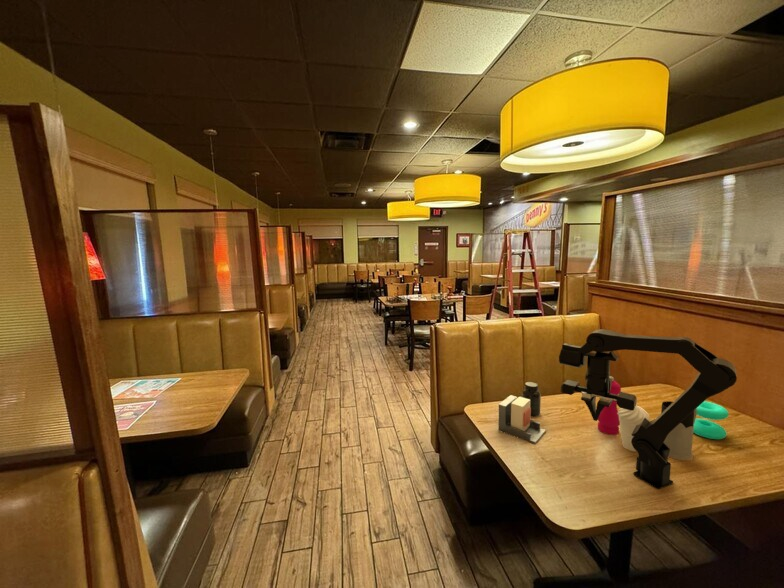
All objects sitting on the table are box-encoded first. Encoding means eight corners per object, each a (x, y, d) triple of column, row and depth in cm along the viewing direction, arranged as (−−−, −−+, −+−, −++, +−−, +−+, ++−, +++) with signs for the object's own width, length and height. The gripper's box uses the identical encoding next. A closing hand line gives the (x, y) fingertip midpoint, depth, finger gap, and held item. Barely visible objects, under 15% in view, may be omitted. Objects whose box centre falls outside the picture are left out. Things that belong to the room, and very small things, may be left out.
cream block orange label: (531, 426, 114) (532, 400, 113) (523, 434, 109) (524, 407, 108) (518, 422, 117) (519, 396, 116) (510, 429, 112) (511, 403, 111)
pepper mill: (624, 436, 108) (628, 381, 106) (601, 435, 109) (604, 380, 107) (614, 425, 115) (617, 373, 113) (592, 424, 116) (595, 372, 114)
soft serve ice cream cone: (645, 444, 103) (648, 398, 101) (650, 458, 96) (653, 409, 94) (614, 437, 108) (616, 393, 106) (616, 451, 100) (619, 403, 99)
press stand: (545, 432, 112) (546, 405, 111) (535, 444, 105) (536, 416, 104) (510, 419, 121) (510, 395, 120) (498, 430, 114) (498, 404, 113)
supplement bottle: (521, 407, 130) (521, 380, 129) (539, 410, 128) (540, 381, 127) (521, 415, 124) (522, 386, 123) (540, 418, 122) (541, 388, 120)
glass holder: (649, 447, 102) (652, 403, 100) (676, 437, 107) (679, 395, 105) (682, 463, 94) (686, 416, 92) (709, 451, 99) (714, 406, 97)
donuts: (734, 407, 106) (721, 415, 101) (731, 435, 107) (719, 444, 102) (695, 396, 115) (682, 403, 110) (692, 422, 116) (680, 429, 111)
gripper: (640, 371, 94) (637, 420, 96) (571, 358, 107) (569, 402, 109) (635, 382, 86) (631, 435, 88) (561, 367, 99) (559, 414, 101)
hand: (595, 420), depth 97 cm, fingers closed
